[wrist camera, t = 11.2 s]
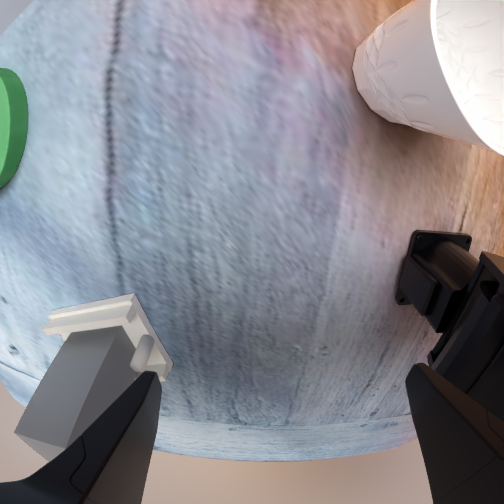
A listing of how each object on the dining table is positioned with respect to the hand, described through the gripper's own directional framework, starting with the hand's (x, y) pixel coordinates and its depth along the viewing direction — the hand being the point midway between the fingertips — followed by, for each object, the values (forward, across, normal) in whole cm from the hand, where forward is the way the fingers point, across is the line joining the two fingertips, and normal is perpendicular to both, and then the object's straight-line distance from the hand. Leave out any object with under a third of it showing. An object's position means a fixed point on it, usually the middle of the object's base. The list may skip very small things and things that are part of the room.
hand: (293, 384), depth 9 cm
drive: (+11, +14, +10) cm, 20 cm away
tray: (+12, +14, +10) cm, 21 cm away
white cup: (+12, -8, -12) cm, 19 cm away
